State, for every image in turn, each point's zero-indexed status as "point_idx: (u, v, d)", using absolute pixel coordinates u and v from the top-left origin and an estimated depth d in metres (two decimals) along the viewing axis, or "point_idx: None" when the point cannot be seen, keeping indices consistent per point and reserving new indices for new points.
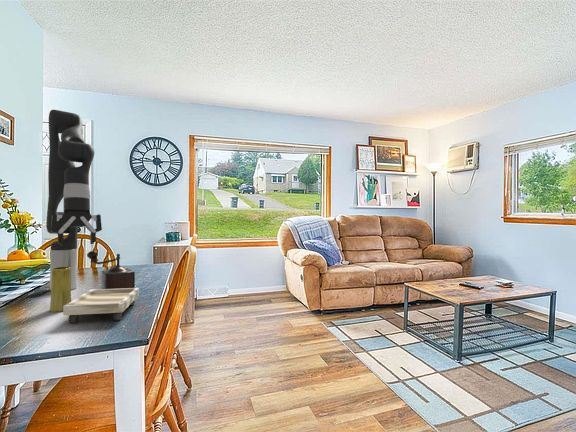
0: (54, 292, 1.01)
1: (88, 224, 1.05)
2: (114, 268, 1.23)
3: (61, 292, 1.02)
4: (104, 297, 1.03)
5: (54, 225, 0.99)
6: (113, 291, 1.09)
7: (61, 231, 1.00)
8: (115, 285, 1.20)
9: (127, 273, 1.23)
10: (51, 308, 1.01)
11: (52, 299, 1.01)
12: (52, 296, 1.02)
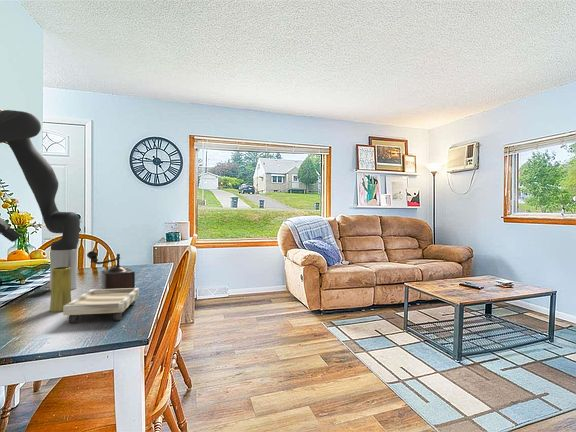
0: (54, 292, 1.01)
1: None
2: (114, 268, 1.23)
3: (61, 292, 1.02)
4: (104, 297, 1.03)
5: None
6: (113, 291, 1.09)
7: None
8: (115, 285, 1.20)
9: (127, 273, 1.23)
10: (51, 308, 1.01)
11: (52, 299, 1.01)
12: (52, 297, 1.02)
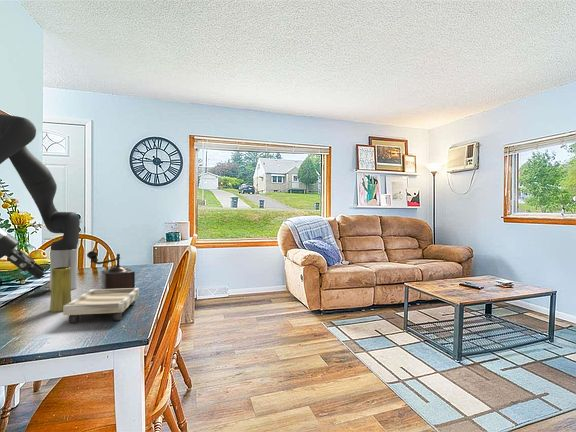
0: (54, 292, 1.01)
1: None
2: (114, 268, 1.23)
3: (61, 292, 1.02)
4: (104, 297, 1.03)
5: None
6: (113, 291, 1.09)
7: None
8: (115, 285, 1.20)
9: (127, 273, 1.23)
10: (51, 308, 1.01)
11: (52, 299, 1.01)
12: (52, 297, 1.02)
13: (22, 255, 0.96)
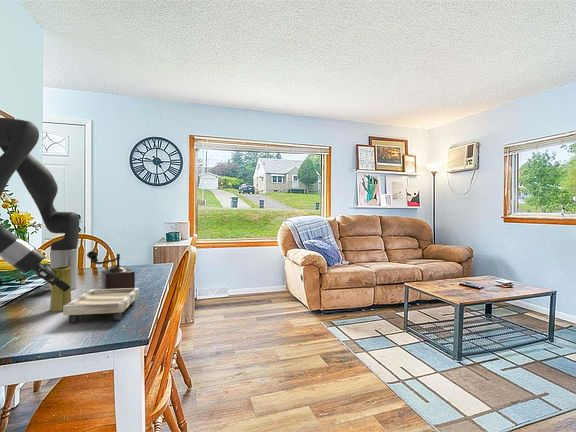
0: (54, 292, 1.01)
1: None
2: (114, 268, 1.23)
3: (61, 292, 1.02)
4: (104, 297, 1.03)
5: None
6: (113, 291, 1.09)
7: None
8: (115, 285, 1.20)
9: (127, 273, 1.23)
10: (51, 308, 1.01)
11: (52, 299, 1.01)
12: (52, 296, 1.02)
13: (49, 269, 1.00)
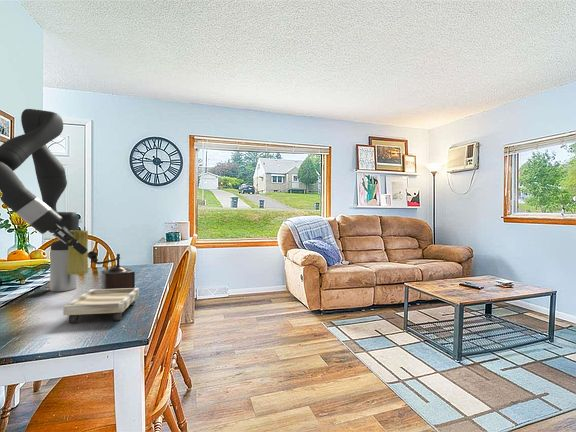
0: (71, 254, 0.99)
1: (61, 241, 0.97)
2: (114, 268, 1.23)
3: (78, 255, 1.00)
4: (104, 297, 1.03)
5: None
6: (113, 291, 1.09)
7: None
8: (115, 285, 1.20)
9: (127, 273, 1.23)
10: (68, 271, 0.99)
11: (69, 262, 0.99)
12: (69, 259, 1.00)
13: (66, 230, 0.98)
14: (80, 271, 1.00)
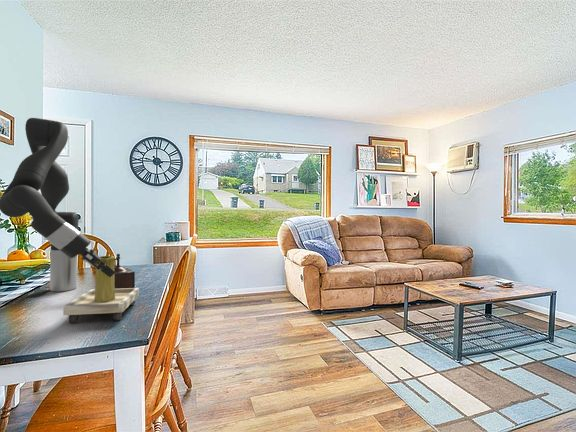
0: (99, 282, 0.98)
1: (90, 264, 0.96)
2: (114, 268, 1.23)
3: (106, 282, 0.99)
4: None
5: None
6: None
7: None
8: (115, 285, 1.20)
9: (127, 273, 1.23)
10: (96, 298, 0.98)
11: (97, 289, 0.98)
12: (96, 286, 0.98)
13: (94, 254, 0.97)
14: (108, 298, 0.99)
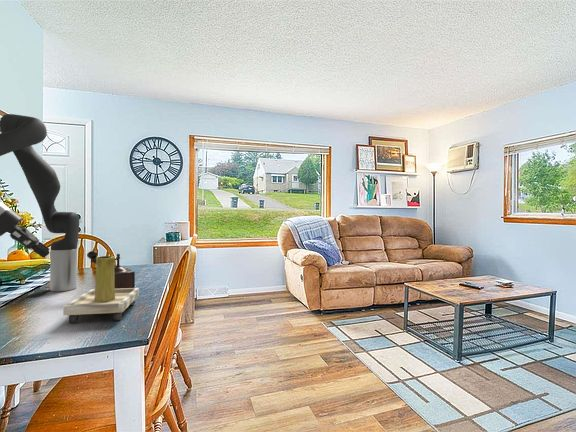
0: (99, 282, 0.98)
1: (20, 243, 0.88)
2: (114, 268, 1.23)
3: (106, 282, 0.99)
4: None
5: None
6: None
7: None
8: (115, 285, 1.20)
9: (127, 273, 1.23)
10: (96, 298, 0.98)
11: (97, 289, 0.98)
12: (96, 286, 0.98)
13: (26, 232, 0.89)
14: (108, 298, 0.99)
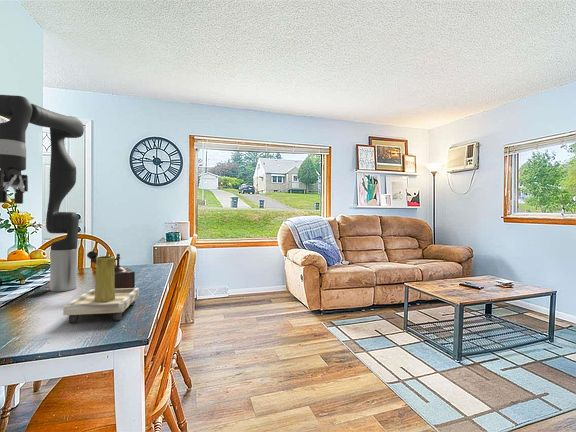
0: (99, 282, 0.98)
1: None
2: (114, 268, 1.23)
3: (106, 282, 0.99)
4: None
5: None
6: None
7: None
8: (115, 285, 1.20)
9: (127, 273, 1.23)
10: (96, 298, 0.98)
11: (97, 289, 0.98)
12: (96, 286, 0.98)
13: (11, 177, 1.00)
14: (108, 298, 0.99)
